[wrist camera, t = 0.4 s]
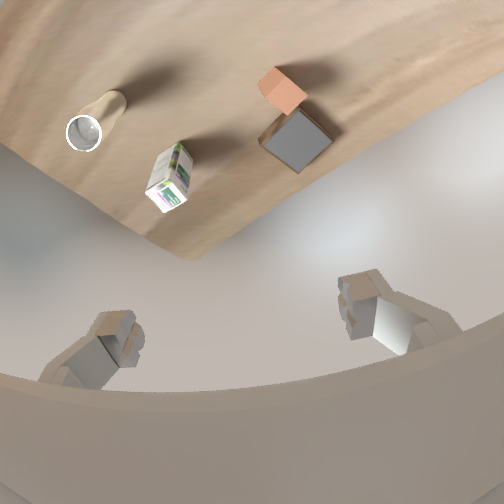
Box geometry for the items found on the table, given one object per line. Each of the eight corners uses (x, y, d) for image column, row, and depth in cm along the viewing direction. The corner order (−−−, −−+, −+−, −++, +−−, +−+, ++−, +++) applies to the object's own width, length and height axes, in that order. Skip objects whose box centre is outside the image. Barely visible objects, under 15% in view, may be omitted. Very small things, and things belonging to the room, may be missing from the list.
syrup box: (194, 160, 56) (189, 200, 47) (172, 173, 58) (163, 214, 48) (179, 140, 52) (170, 177, 43) (157, 154, 54) (143, 194, 44)
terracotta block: (274, 66, 43) (285, 76, 36) (293, 82, 45) (308, 95, 39) (256, 84, 45) (264, 97, 39) (276, 99, 48) (287, 115, 41)
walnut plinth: (293, 101, 49) (298, 107, 46) (328, 133, 54) (335, 141, 52) (257, 138, 54) (260, 146, 52) (294, 165, 60) (298, 175, 57)
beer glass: (133, 92, 43) (107, 118, 33) (124, 122, 47) (99, 157, 37) (101, 85, 40) (67, 110, 30) (94, 115, 44) (63, 148, 34)
